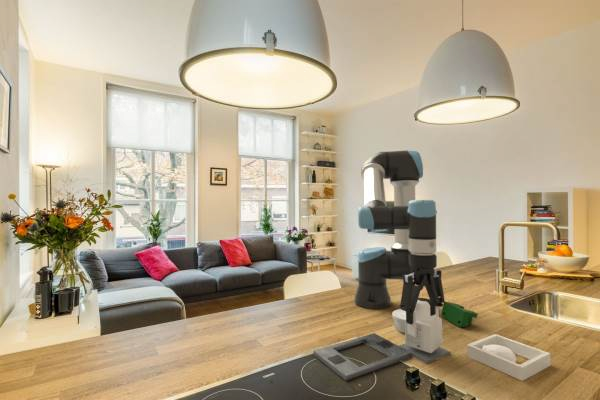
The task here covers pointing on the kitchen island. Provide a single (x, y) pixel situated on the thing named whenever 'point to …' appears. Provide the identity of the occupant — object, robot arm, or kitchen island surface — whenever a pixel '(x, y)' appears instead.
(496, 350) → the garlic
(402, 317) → the ramekin
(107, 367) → the kitchen island surface
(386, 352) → the flat gray rectangular frame
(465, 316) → the green angular block
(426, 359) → the plate
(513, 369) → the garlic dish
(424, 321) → the container
